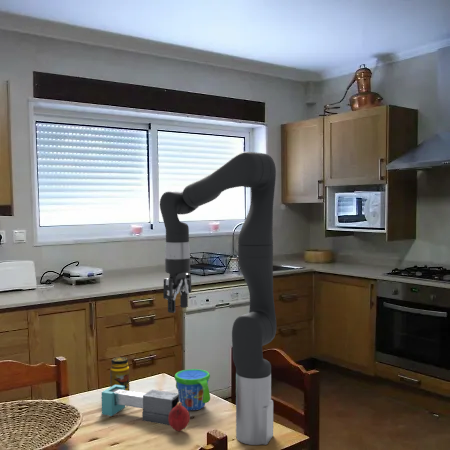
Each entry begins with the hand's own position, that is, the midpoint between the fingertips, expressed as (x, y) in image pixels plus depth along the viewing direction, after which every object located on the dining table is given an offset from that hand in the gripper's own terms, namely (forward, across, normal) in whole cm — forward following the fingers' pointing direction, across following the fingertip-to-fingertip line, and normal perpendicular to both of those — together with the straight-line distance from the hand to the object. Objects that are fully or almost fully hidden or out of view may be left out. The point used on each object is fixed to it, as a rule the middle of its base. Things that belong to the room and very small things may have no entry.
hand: (178, 309), depth 154 cm
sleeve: (+30, -10, +1) cm, 32 cm away
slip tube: (+27, -10, +10) cm, 30 cm away
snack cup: (+30, +1, -4) cm, 30 cm away
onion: (+30, -16, -8) cm, 35 cm away
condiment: (+30, +1, +23) cm, 38 cm away
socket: (+30, -10, +17) cm, 36 cm away
